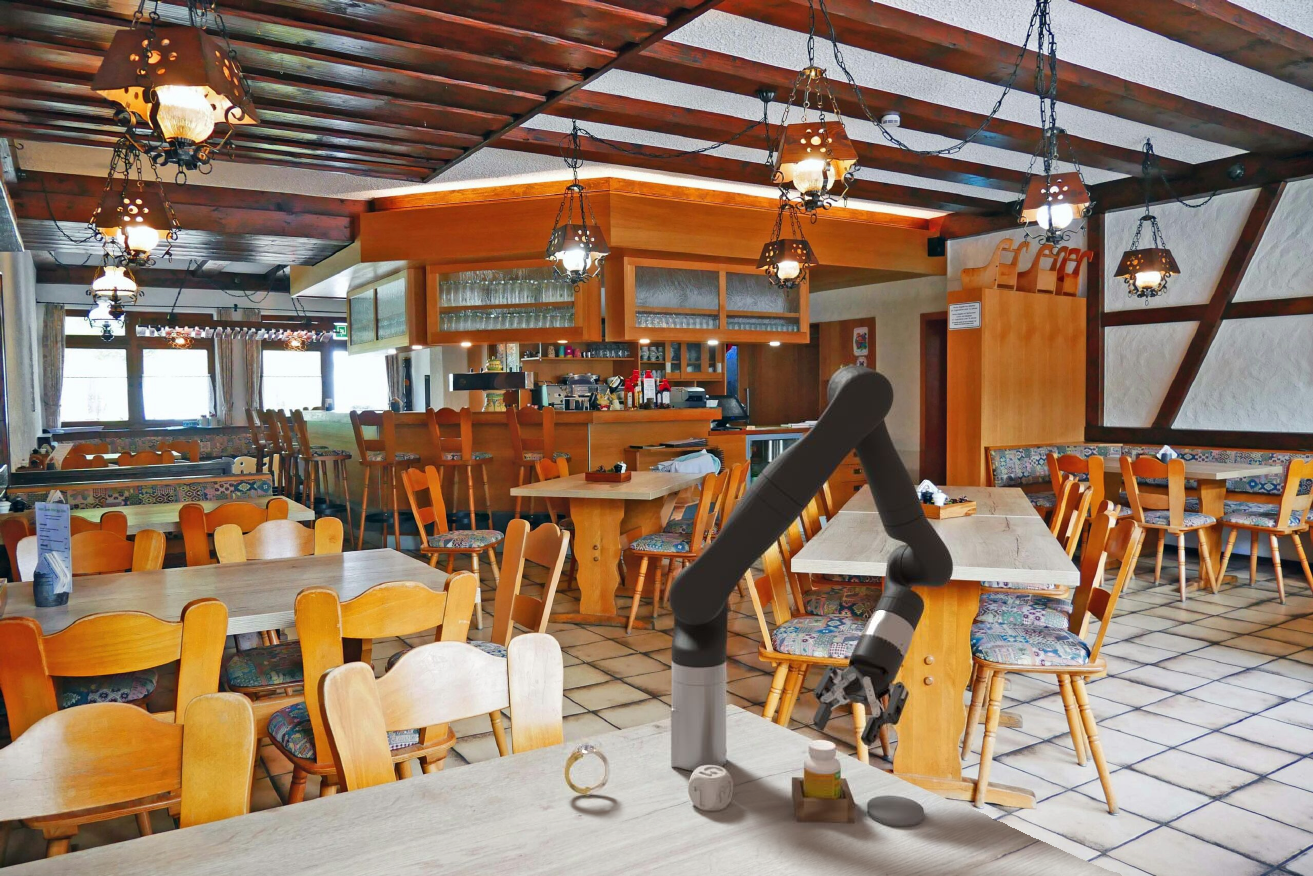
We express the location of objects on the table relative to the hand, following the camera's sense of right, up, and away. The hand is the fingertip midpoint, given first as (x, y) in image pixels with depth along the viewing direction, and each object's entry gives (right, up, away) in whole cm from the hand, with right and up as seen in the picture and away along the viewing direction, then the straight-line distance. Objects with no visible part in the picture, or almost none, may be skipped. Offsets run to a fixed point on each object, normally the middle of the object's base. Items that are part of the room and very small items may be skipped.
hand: (840, 735), depth 134 cm
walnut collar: (-3, -10, -3) cm, 11 cm away
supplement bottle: (-3, -10, -3) cm, 11 cm away
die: (-20, -10, -1) cm, 22 cm away
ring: (-39, -10, +2) cm, 40 cm away
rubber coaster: (+7, -10, -5) cm, 13 cm away
